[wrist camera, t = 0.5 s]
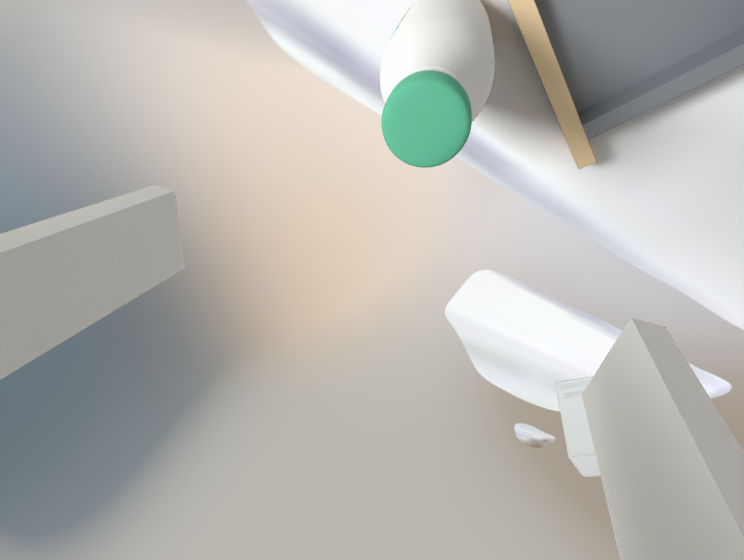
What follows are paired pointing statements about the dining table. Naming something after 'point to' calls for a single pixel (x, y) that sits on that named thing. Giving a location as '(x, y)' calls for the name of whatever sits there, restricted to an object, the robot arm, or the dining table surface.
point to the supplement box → (577, 425)
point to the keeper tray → (625, 56)
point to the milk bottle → (436, 79)
